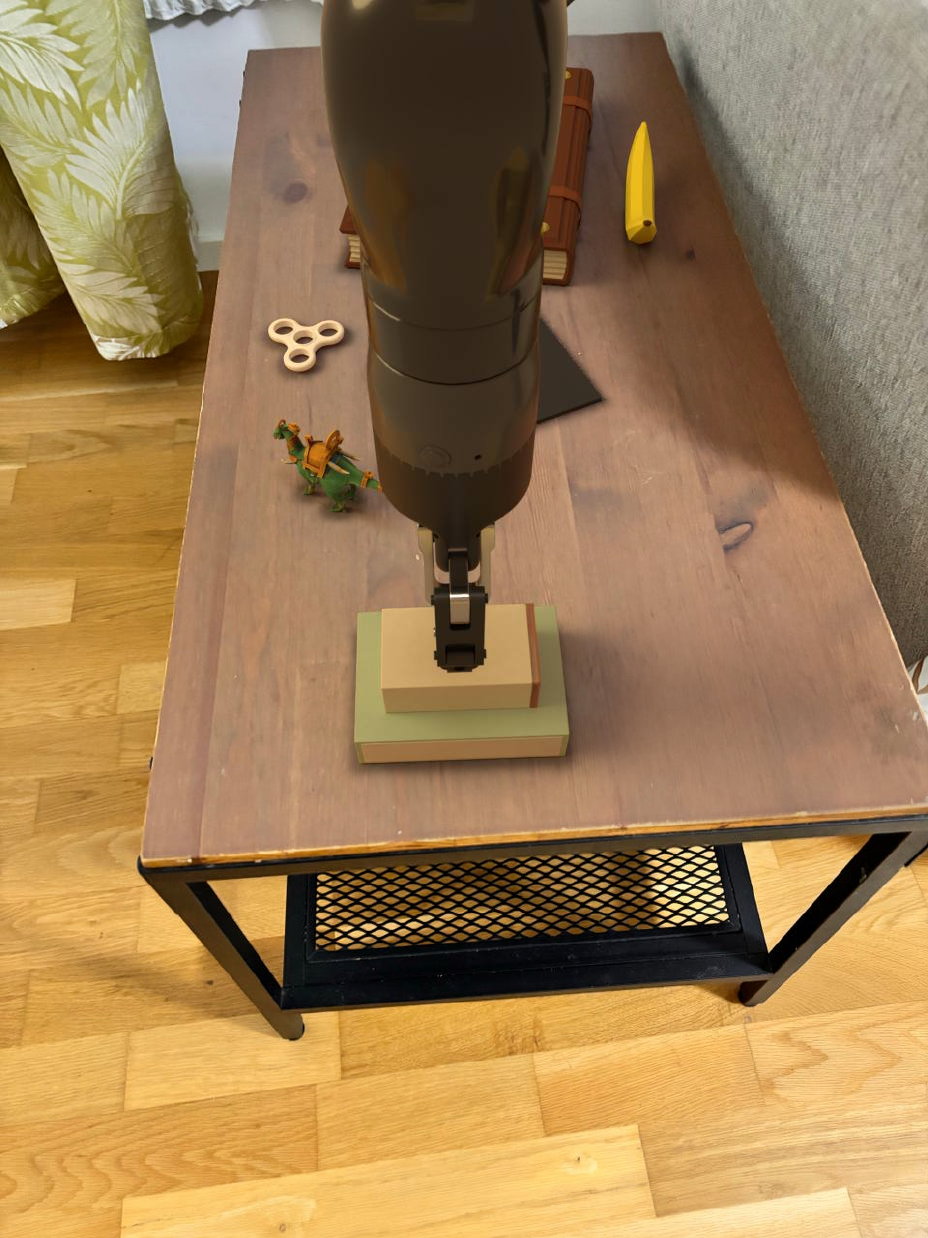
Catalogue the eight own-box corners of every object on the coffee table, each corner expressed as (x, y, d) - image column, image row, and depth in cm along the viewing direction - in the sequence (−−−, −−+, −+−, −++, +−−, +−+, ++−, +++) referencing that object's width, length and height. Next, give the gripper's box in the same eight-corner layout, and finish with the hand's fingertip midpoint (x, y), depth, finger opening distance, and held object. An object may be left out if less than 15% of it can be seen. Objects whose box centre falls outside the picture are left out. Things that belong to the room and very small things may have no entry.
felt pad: (601, 400, 81) (602, 397, 80) (510, 433, 79) (510, 430, 78) (527, 304, 87) (527, 301, 87) (441, 333, 85) (441, 329, 85)
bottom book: (552, 631, 68) (555, 605, 65) (565, 757, 63) (569, 735, 60) (362, 637, 68) (357, 612, 65) (359, 764, 62) (353, 743, 60)
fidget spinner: (346, 325, 86) (345, 319, 85) (336, 374, 82) (335, 368, 82) (272, 322, 86) (270, 315, 85) (259, 371, 83) (257, 364, 82)
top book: (530, 630, 64) (533, 602, 61) (537, 707, 61) (540, 682, 58) (385, 635, 64) (381, 608, 61) (385, 713, 61) (380, 688, 58)
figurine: (295, 459, 77) (277, 386, 70) (412, 520, 74) (407, 449, 67) (271, 482, 76) (251, 411, 69) (390, 546, 72) (382, 477, 65)
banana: (650, 166, 99) (660, 107, 94) (652, 281, 89) (664, 223, 84) (623, 165, 99) (632, 106, 94) (622, 280, 89) (632, 221, 84)
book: (342, 267, 90) (335, 222, 86) (397, 94, 107) (394, 48, 103) (573, 287, 89) (578, 241, 84) (593, 107, 105) (598, 61, 101)
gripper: (551, 528, 38) (527, 707, 51) (525, 298, 45) (511, 507, 59) (367, 534, 38) (393, 711, 51) (372, 302, 45) (394, 511, 59)
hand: (456, 602), depth 55 cm, fingers open, 8 cm apart
